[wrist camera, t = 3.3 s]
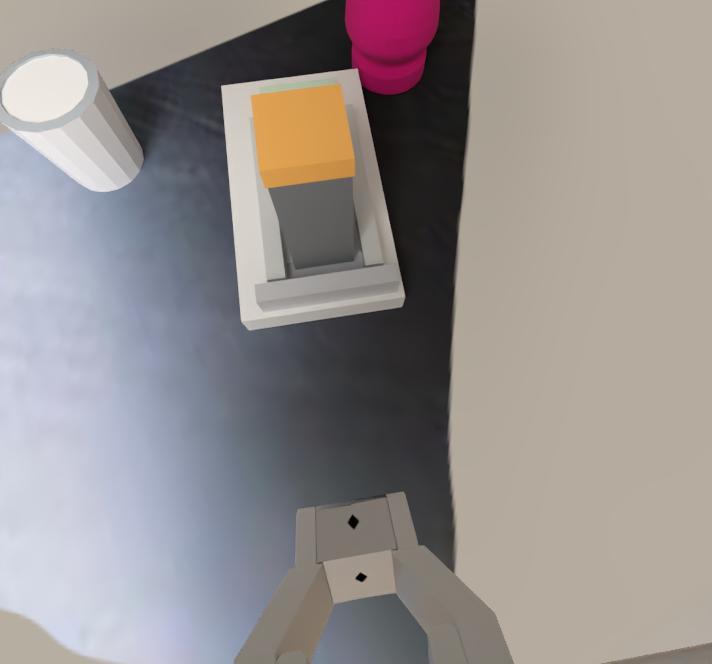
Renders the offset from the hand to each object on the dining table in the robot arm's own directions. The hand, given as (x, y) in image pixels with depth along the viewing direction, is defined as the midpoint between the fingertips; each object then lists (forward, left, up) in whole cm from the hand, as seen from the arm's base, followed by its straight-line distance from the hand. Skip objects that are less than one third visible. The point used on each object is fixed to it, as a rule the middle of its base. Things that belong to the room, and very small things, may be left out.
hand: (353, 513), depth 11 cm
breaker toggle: (0, +16, -13) cm, 20 cm away
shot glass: (-16, +27, -15) cm, 35 cm away
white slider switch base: (0, +21, -15) cm, 26 cm away
